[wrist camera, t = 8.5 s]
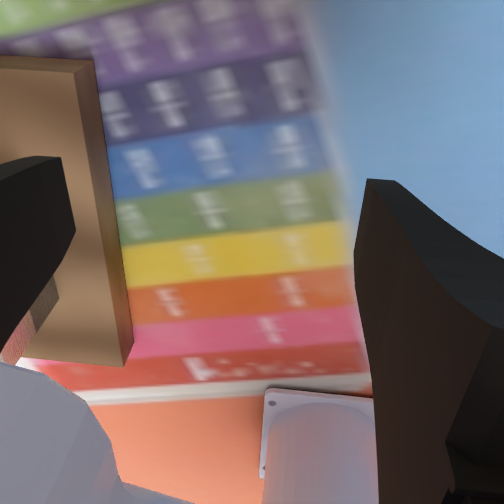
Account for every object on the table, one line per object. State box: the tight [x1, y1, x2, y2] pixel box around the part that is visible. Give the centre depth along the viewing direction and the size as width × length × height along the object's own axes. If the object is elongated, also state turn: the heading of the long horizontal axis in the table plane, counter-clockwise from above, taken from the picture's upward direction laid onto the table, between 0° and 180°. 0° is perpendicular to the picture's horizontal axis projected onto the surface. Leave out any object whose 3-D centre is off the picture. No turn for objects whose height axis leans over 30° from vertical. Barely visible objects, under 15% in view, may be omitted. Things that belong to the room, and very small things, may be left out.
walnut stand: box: [0, 55, 134, 367], centre depth 24 cm, size 16×10×2 cm, turn 178°
